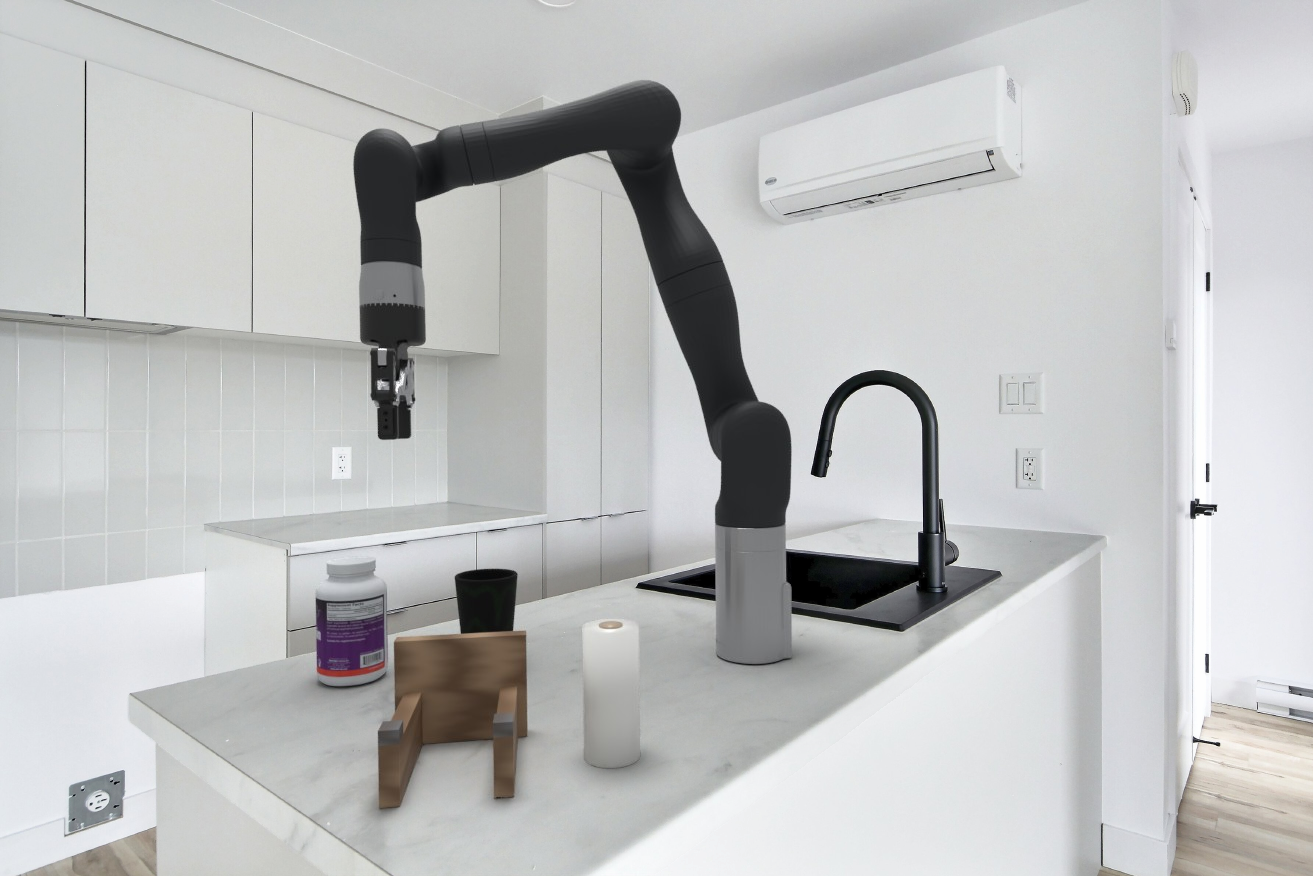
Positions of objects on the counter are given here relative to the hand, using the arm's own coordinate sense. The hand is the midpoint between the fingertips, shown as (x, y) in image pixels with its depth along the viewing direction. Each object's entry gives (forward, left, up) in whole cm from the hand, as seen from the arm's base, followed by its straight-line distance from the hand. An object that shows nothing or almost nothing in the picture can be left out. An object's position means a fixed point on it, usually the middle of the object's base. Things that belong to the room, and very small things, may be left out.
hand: (395, 439), depth 91 cm
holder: (-9, +26, -29) cm, 40 cm away
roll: (-23, +27, -29) cm, 46 cm away
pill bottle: (+6, 0, -29) cm, 30 cm away
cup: (-10, 0, -29) cm, 31 cm away
